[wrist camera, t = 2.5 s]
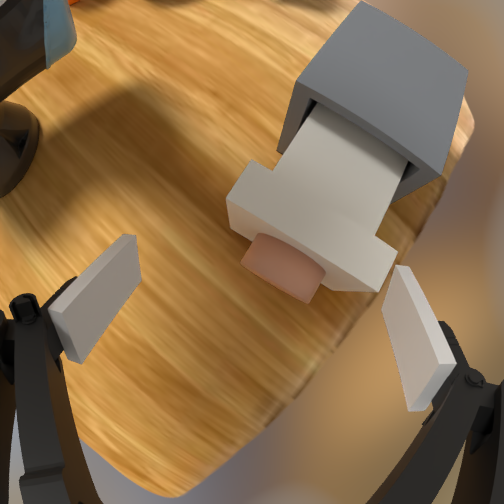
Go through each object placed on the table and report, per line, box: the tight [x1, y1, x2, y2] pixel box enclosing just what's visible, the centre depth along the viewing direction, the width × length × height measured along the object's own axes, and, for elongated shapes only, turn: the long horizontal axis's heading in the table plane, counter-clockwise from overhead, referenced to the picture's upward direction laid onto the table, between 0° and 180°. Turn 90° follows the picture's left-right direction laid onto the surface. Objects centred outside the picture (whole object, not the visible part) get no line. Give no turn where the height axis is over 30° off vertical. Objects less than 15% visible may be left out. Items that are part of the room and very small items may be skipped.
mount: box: [276, 1, 468, 205], centre depth 30 cm, size 16×14×14 cm
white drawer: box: [226, 102, 408, 304], centre depth 29 cm, size 21×13×12 cm, turn 149°
